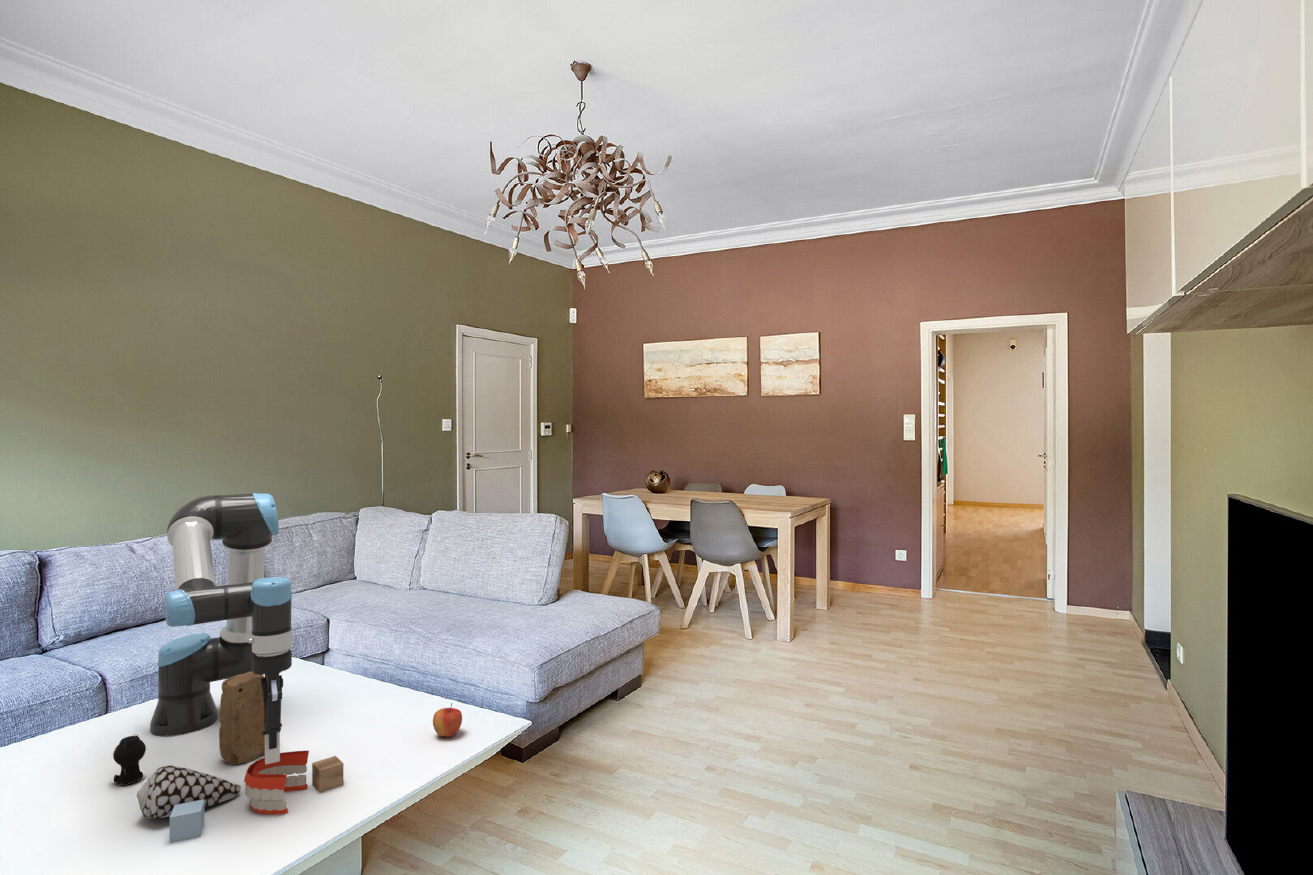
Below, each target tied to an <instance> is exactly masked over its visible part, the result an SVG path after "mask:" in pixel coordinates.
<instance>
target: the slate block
mask: <svg viewBox="0 0 1313 875" xmlns="http://www.w3.org/2000/svg"><path fill="white" fill-rule="evenodd" d="M204 828H205V807H204V799H203V800H198V801H193V802H188V803H183V804H178V805H174V808H173V810H172V813H171V815H170V816H169V844H173V843H176V842H181V841H185V840H190V839H196V838H201V836H202V833H203V829H204Z"/></svg>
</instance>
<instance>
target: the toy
mask: <svg viewBox="0 0 1313 875" xmlns="http://www.w3.org/2000/svg"><path fill="white" fill-rule="evenodd" d="M309 753H310V751H309V750H295V751H286V752H280V761H279V762H275V763H270V764H266V765H265V757H262V758H260V759H259V758H258V759H256V760H254V762H253V763H251V764H250V765H249V766H248V767H247V769H246V772H245V775H244V779H243V782H244V787H245V788H244V794H245V795H246V796H247V797H248V799H249V807H250V808H251V809H252V810H253V811H254V812H255V813H257V814H261V815H286V814H288V813H289V809H288V808H287V800H286V798H284V796H285V792H286V793H287V792H295V791H304V790H307V789H309V788H308V787H309V786H308V784H307V775H306V774H305V773H307V771H308V770H307V769H308V767H307V764H308V758H309ZM295 774H296V775H295Z"/></svg>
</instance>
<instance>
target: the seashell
mask: <svg viewBox="0 0 1313 875" xmlns="http://www.w3.org/2000/svg"><path fill="white" fill-rule="evenodd" d="M241 788H242V786H241V785H240V784H237V783H233V782H231V781H228V780H227V779H223V778H221V777H219V776H215V775H212V774H209V773H204V772H201V771H199V770H198V771H197V770H194V769H191V768H187V767H180V766H175V765H173V764H172V765H163V766H160V767H157V768H156V769H155V771H154V772H153V773H152V775H150V776H149V777H148V778H147V780H146V781H145V782H144V784H143V785H142V786H141V788H140V789H139V790H138V791H137V792H136V798H137V800H138V805H139V806H138V807H139V809H140V811H141V817H143V818H146V819H161V818H166V817H167V818H168V817H170V815H171V813H172V810H173V808H174V805H178V804H183V803H188V802H193V801H198V800H203V799H204V808H208V807H211V806H214V805H218V804H220V803H222V802H225V801H228V800H230V799H233V798H235V797H236V796H237V795H238V794H240V791H241Z"/></svg>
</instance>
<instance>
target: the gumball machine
mask: <svg viewBox="0 0 1313 875" xmlns="http://www.w3.org/2000/svg"><path fill="white" fill-rule="evenodd" d="M146 751H147V746H146V744H145V742H144V741H143V740H142V739H141V738H140V737H139V735H138V734H135V733H133V735H130V736H126V737H123V738H122V739H121V740H119V743H118V745H116V747H115V748H114V751H113V753H112V756H113V760H114V762H115V763H116V764H117V765H119V766H120V774H115V775H113V783H114V784H116V785H118V786H119V788H121V786H124V785H131V784H134V783H136V782H138V781H141V780H142V779H143V778H144V772H142V771H141V769H140V768H141V767H140V763H139V762H140V761H141V760H142V759H143V758H144V757H145V754H146Z"/></svg>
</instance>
